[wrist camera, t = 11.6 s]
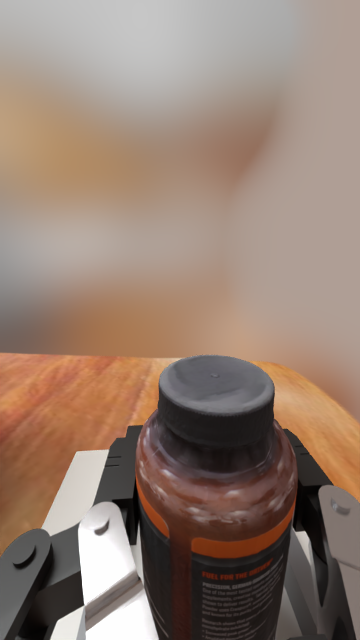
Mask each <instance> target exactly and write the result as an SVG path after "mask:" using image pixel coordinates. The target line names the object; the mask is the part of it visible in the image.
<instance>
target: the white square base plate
mask: <svg viewBox="0 0 360 640" xmlns="http://www.w3.org/2000/svg"><path fill="white" fill-rule="evenodd" d="M108 452H109V450H94V451H77V452H76V454H75V456H74V458H73V461H72V463H71V465H70V467H69V469H68V471H67V474H66V476H65V478H64V480H63V482H62V485H61V487H60V489H59V491H58V493H57V495H56V498H55V500H54V502H53V504H52V506H51V509H50V511H49V513H48V515H47V517H46V519H45V522H44V524H43V526H42V528H41V529H44V530H46V531H47V532H48V533H49V535H50V536H52V535H54V534H57V533H59V532H61V531H64V530H66V529H68V528H70V527H72V526H74V525H76V524H77V523H79V522H80V521H81V520H82V518H83V516H84V515H85V514H86V512H87V511H88V510H89V509H90V508H91V507H92V505H93V502H94V499H95V496H96V493H97V489H98V486H99V483H100V479H101V476H102V472H103V469H104V467H105V462H106V459H107V456H108ZM308 544H309V538H308V536H307V534H306V532H305V531H302V532H295V531H294V528H293V526H292V531H291V539H290V547H289V553H288V561H287V567H286V574H285V580H284V587H283V593H282V601H281V607H280V613H279V620H278V627H277V633H276V639H275V640H287V639H289V638H292V637H300V636H309V635H317V608H316V600H315V593H314V585H313V578H312V571H311V563H310V556H309V548H308ZM130 548H131V552H132V555H133V559H134V563H135V566H136V570H137V573H138V576H139V577H140V578H141V580H142V583H143V586H144V580H143V567H142V554H141V541H140V528H139V524H138V534H137V544H136V545H132V546H130ZM50 640H86V628H85V605H84V606H82V607H81V608H79V609H77V610H75V611H74V612H72V613H70V614H68V615H67V616H65V617H63V618H61V619H59V620H58V621H57V623H56V626H55V628H54V631H53V633H52V636H51V639H50Z"/></svg>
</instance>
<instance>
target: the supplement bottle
mask: <svg viewBox="0 0 360 640" xmlns="http://www.w3.org/2000/svg"><path fill="white" fill-rule="evenodd" d="M274 396H275V387H274V383H273V381H272V380H271V378H270V377H269V376H268V374H267V373H266V372H264V371H263V370H262V369H261V368H259V367H257V366H256V365H254V364H252V363H250V362H247V361H244V360H241V359H237V358H234V357H228V356H219V355H199V356H192V357H188V358H185V359H181V360H178V361H176V362H174V363H172V364H170V365H169V366H168V367H167V368H165V369H164V370H163V372H162V373H161V375H160V379H159V401H158V409H156V410H155V411H154V413H153V414H152V415H151V416H150V417H149V418H148V420H147V421H146V422H145V424H144V426H143V428H142V430H141V433H140V435H139V438H138V441H137V448H136V462H135V471H136V488H137V500H138V514H139V528H140V541H141V554H142V567H143V580H144V589H145V592H146V596H147V599H148V603H149V606H150V610H151V613H152V617H153V620H154V624H155V628H156V631H157V635H158V638H159V640H275V639H276V633H277V627H278V620H279V613H280V607H281V601H282V593H283V587H284V580H285V574H286V567H287V561H288V553H289V547H290V539H291V531H292V524H293V517H294V510H295V502H296V494H297V488H298V471H297V461H296V457H295V453H294V450H293V448H292V446H291V443H290V441H289V439H288V437H287V436H286V434H285V433H284V431H283V429H282V428H281V427H280V426H279V424H278V423H277V422H276V421H275V419H274V412H273V406H274Z"/></svg>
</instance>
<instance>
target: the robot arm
mask: <svg viewBox="0 0 360 640" xmlns="http://www.w3.org/2000/svg"><path fill="white" fill-rule="evenodd" d="M275 421H276V420H275ZM276 422H277V421H276ZM277 423H278V422H277ZM278 424H279V423H278ZM279 426H280V425H279ZM280 427H281V426H280ZM142 428H143V425H136V426H128V429H127V433H126V438H117V439H116V440H115V441H114V443H113V444H112V445H111V446H110V449H109V452H108V456H107V459H106V462H105V467H104V469H103V472H102V476H101V479H100V483H99V486H98V489H97V493H96V496H95V499H94V502H93V505H92V507H91V508H90V509H89V510H88V511H87V512H86V514H85V515H84V516H83V518H82V520H81V521H80V522H79V523H77V524H76V525H74V526H72V527H70V528H68V529H66V530H64V531H61V532H59V533H57V534H54V535H52V536H50V535H49V533H48V532H47V531H46V530H44V529H33V530H30V531H28V532H26V533H24V534H22V535H21V536H19V537H18V538H17V539H15V540H14V541H13V542H12V543H11V544H10V545H9V546H8V548H7V549H6V550H5V552H4V553H3V554H2V556H1V557H0V640H50V639H51V636H52V633H53V631H54V628H55V626H56V623H57V621H58V620H59V619H61V618H63V617H65V616H67V615H68V614H70V613H72V612H74V611H75V610H77V609H79V608H81V607H82V606H84V605H85V628H86V640H159V638H158V635H157V631H156V628H155V624H154V620H153V617H152V613H151V610H150V606H149V603H148V599H147V596H146V592H145V589H144V586H143V583H142V580H141V578H140V577H139V576H138V573H137V570H136V566H135V563H134V559H133V555H132V552H131V548H130V546H132V545H136V544H137V534H138V524H139V514H138V500H137V488H136V471H135V462H136V448H137V441H138V438H139V435H140V433H141V430H142ZM283 431H284V433H285V434H286V436H287V437H288V439H289V441H290V443H291V446H292V448H293V450H294V453H295V457H296V461H297V471H298V488H297V494H296V502H295V510H294V517H293V524H292V526H293V528H294V531H295V532H302V531H305V532H306V534H307V536H308V538H309V544H308V548H309V556H310V563H311V571H312V578H313V585H314V593H315V600H316V608H317V635H309V636H300V637H292V638H289V639H287V640H360V503H359V502H358V501H357V500H356V499H355V498H354V497H353V496H352V495H351V494H349V493H348V492H347V491H345V490H343V489H341V488H339V487H336V486H334V485H333V484H332V482H331V481H330V480H329V478H328V477H327V476H326V474H325V473H324V472H323V470H322V469H321V468H320V466H319V465H318V464H317V462H316V461H315V460H314V459H313V457H312V456H311V455H310V454H309V452H308V451H307V449H306V448H305V447H304V445H303V444H302V443H301V441H300V440H299V439H298V437H297V436H296V435H294V434H293V433H292V432H290V431H289V430H288V429H283Z"/></svg>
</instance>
